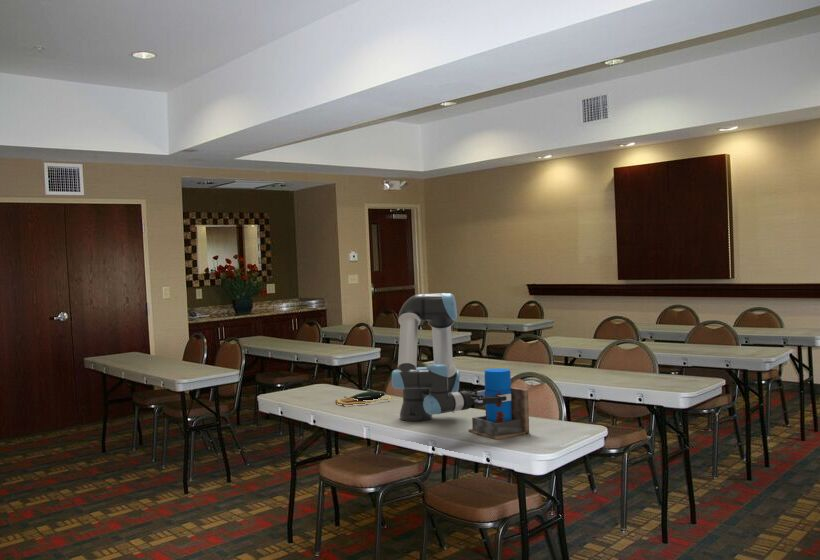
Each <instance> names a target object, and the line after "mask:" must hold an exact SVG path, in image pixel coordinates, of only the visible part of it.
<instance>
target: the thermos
mask: <svg viewBox="0 0 820 560" xmlns="http://www.w3.org/2000/svg"><path fill="white" fill-rule="evenodd" d="M511 378H512V376H511V369H509V368H487V369H485V370H484V390H485V396H498V395H504V394H511V387H512V383H511V382H512V379H511ZM484 405H485V406H484V407H485V416H486V420H487V421H491V422H495V423H498V422H503V421H509V420H512V406H511V401H505V402H502V403H501V404H484Z"/></svg>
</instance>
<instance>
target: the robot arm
mask: <svg viewBox="0 0 820 560" xmlns="http://www.w3.org/2000/svg"><path fill="white" fill-rule="evenodd" d="M457 319H458V309H457V302H456V297H455V296H454V294H452V293H448V292H447V293H445V292H442V293H417V294H415V295H412V296H411V297H409V298H408V299H407V300H406V301H405V302H404V303H403V305H402V306H401V308H400V310H399V313H398V324H399V325H400V326H399V328H400V329H399V340H398V341H399V344H398V357H397V358H398V360H397V369H394V370H392V371H391V386H392V389H395V390H402V405H401V408H400V412H399V419H400V420H402V421H407V422H408V421H409V422H419V421H420V422H423V421H427V420H431V419H432V418H433V415H441V414H447V413H453V414H455V412H458V411H466V410H467V411H468V410H469V409H471V407H472V405H473V406H476V405H479V406H480V405H485V404H501V403H502V402H505V401H511V394H504V395H498V396H485V389H484V390H477V389H473V390H469V391H468V390H461V391H459V389H460V377H461V374H460V370H459V369H458V368H457V366H456V365H455V364H454V361H453V360H454V359H453V357H454V356H453V342H452V341H453V339H452V338H453V337H452V335H453V334H452V327H453V325H454V323H455V321H456V320H457ZM422 321H425V322H426V321H427V323H428V326H430V327H431V336H432V337H431V338H432V350H433V351H432V353H433V363H432V364H431V363H430V364H428V368H427V366H420V367H419V366H418V367H417V362H418V361H417V360H418V341H419V340H418V338H419V337H418V336H419V326H420V325H421V322H422Z"/></svg>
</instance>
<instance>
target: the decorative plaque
mask: <svg viewBox="0 0 820 560" xmlns="http://www.w3.org/2000/svg"><path fill="white" fill-rule="evenodd" d="M380 394H381V395H380ZM382 396H387V397H388V399H393V398H392V396H390V395H386V393H385V392H384V391H378V390H373V389H370V388H367V390H363V391H360V392H356V393H355V394H353V395H350V396H343V398H337V399H336V400H335V403H338V404H342V405H353V404H365V403H371V402H376V401H380V400H388V399H380V400H375V401H367V402H366V401H363V400H373V399H378V398H381V397H382ZM353 398H354V399H358V401H357V400H354V399H353Z"/></svg>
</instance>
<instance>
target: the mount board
mask: <svg viewBox="0 0 820 560" xmlns="http://www.w3.org/2000/svg"><path fill="white" fill-rule="evenodd" d="M511 406H512V420H509V421H503V422H498V423H495V422H491V421H487V420H486V415H481V416H476V417H475V416H474V417H472V418H471V421H472V422H471V423H472V424H471V425H472V428H468V429H467V430H468V432H469V433H472V434H476V435H480V436H484V437H487V438H490V439H493V440H502V439H509V438H513V436H514V437H519V436H523V435H522V434H524V435H527V434H526V433H529V434H530V414H529V413H530V412H529V411H530V410H529V409H530V408H529V407H530V406H529V389H526V388H525V389H524V388H520V387H513V386H511ZM518 435H519V436H518ZM508 437H509V438H508Z"/></svg>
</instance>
